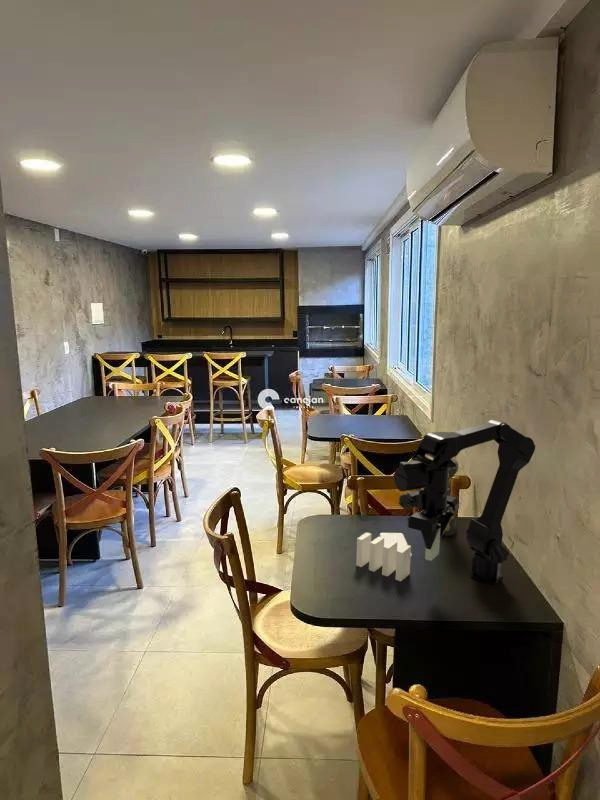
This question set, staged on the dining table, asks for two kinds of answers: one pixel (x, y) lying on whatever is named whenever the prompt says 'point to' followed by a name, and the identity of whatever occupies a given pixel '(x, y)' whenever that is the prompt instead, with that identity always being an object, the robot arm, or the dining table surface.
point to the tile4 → (376, 553)
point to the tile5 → (363, 549)
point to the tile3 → (389, 558)
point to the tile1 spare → (433, 548)
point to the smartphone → (394, 539)
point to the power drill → (451, 472)
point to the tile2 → (403, 562)
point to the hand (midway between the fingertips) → (432, 544)
